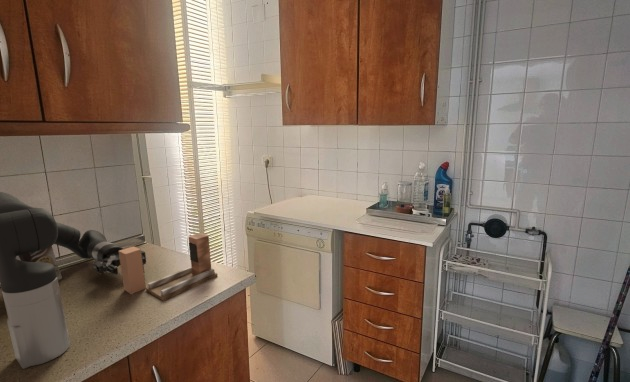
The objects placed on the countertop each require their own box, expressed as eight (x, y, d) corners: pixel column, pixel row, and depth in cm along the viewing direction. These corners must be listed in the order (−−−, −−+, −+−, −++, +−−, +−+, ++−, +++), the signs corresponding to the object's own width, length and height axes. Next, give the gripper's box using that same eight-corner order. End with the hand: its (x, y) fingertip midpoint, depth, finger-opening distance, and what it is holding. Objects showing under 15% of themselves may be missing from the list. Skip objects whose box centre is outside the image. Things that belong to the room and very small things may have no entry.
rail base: (163, 300, 96) (157, 255, 93) (146, 290, 102) (140, 248, 99) (217, 276, 111) (214, 236, 108) (199, 268, 117) (196, 231, 114)
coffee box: (36, 296, 100) (19, 251, 93) (18, 293, 101) (1, 248, 94) (63, 277, 108) (49, 235, 102) (46, 274, 109) (31, 232, 103)
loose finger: (131, 294, 100) (125, 254, 97) (124, 289, 103) (118, 250, 100) (147, 287, 104) (142, 249, 101) (140, 283, 107) (135, 245, 104)
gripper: (131, 257, 120) (154, 269, 111) (86, 272, 109) (108, 286, 100) (128, 238, 119) (151, 248, 109) (83, 250, 107) (104, 263, 98)
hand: (130, 266), depth 104 cm, fingers open, 8 cm apart
